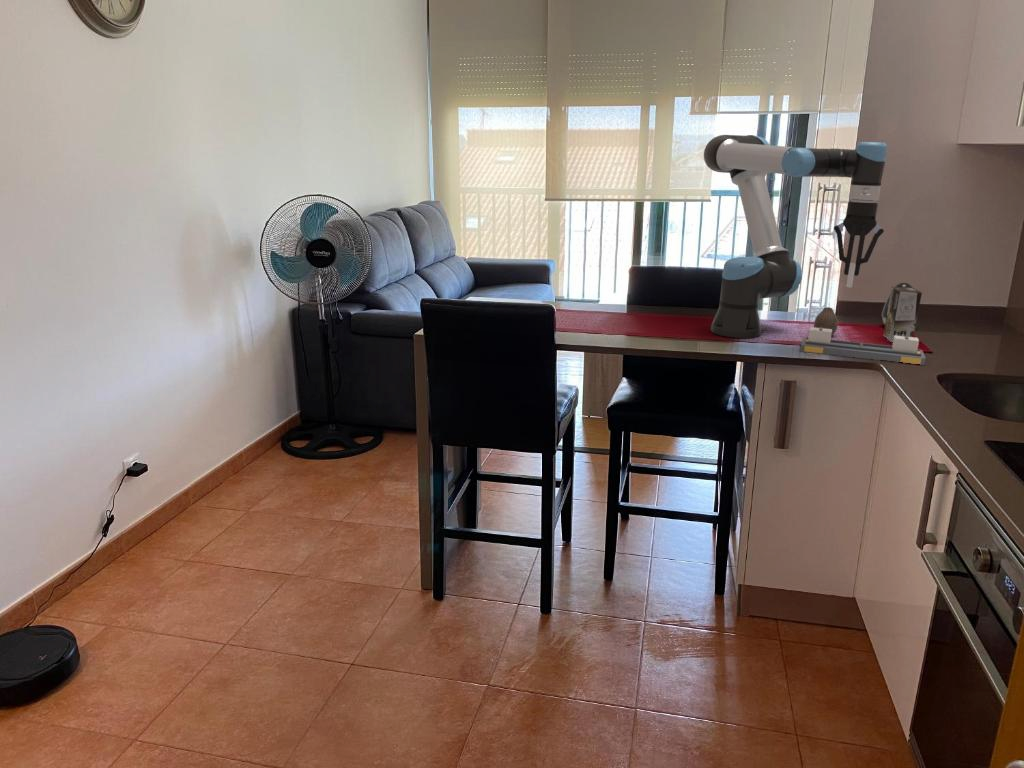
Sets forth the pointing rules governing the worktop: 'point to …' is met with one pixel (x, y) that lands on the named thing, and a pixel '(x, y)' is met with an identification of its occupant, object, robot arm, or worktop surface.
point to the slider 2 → (905, 344)
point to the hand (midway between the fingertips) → (849, 286)
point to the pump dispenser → (884, 312)
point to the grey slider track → (862, 351)
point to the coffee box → (902, 312)
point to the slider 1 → (819, 335)
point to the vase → (826, 320)
